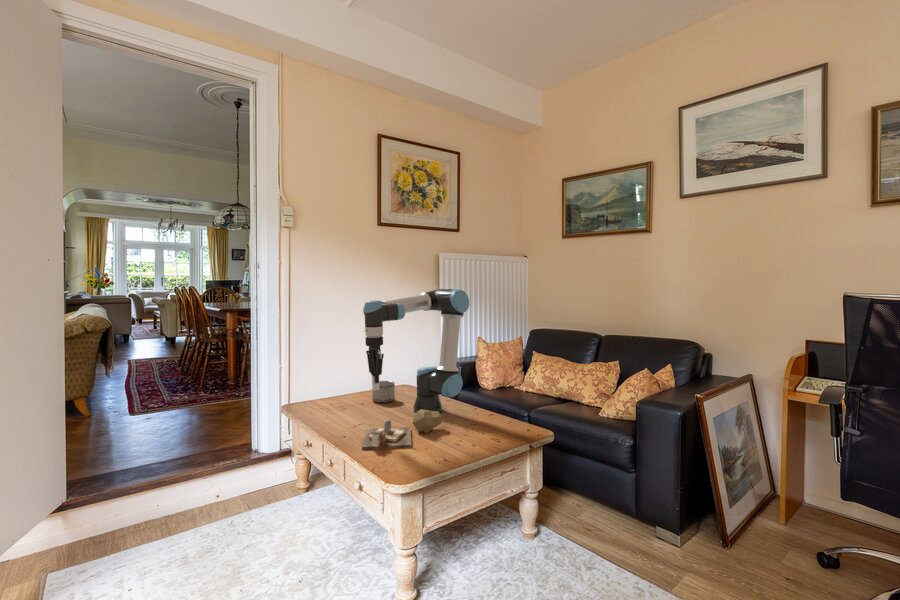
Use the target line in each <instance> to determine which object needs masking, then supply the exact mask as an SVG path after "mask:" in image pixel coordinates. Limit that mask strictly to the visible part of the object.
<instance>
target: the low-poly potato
mask: <svg viewBox="0 0 900 600" xmlns="http://www.w3.org/2000/svg"><path fill="white" fill-rule="evenodd" d="M442 423H443V415H442V414H441V412H440V413H439V411H428V410H423V409H421V410H419V411H417V413H414V415H413V418H412V425H413V426H414V428H415V429H416V430H417V431H418V432H421V433H426V434H428V432H430V431H431V430H433V429H435V428H436V427H438V426H439V425H441V424H442Z"/></svg>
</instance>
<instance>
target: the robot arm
mask: <svg viewBox="0 0 900 600" xmlns="http://www.w3.org/2000/svg"><path fill="white" fill-rule="evenodd" d="M469 307H470V298H469V295H468V294H467V292H466V291H464V290H462V289H459V288H439V289H435V290H430V291H426V292H421V293H420V294H419V295H414V296H408V297H402V298H396V299H391V300H384V301H382V300H366V301H365V302H364V306H363V308H362V312H363V315H364V327H365V328H364V333H365V335H364V336H365V339H364V340H365V346H367V347H368V350H366V351H365V354H366V356H367V364H368V371H369V373H370V374H371V387H372V390H373V391H376V390H379V381H380V376H381V375H382V374H383V373H382V372H383V364H384V363H383V361H384V356H385V355H384V353H382V350H381V346H383V345H384V337H383V335H384V326H383V324H384V322H391V321H398V320H399V321H401V320H403V319H404V318H405V316H406V314H407V313H413V312H417V311H423V312H424V311H425V312H427V311H439V312H440V315H441V317H443V319H442V331H441V332H442V333H441V343H440V344H441V345H440V354H439V355H440V356H439V365H438V366H427V367H420V368H418V369H417V371H416V376H415V377H416V398H415V401H414V405H413V412H414V414H416V413H417V411H419V410H421V409H423V410H428V411H439V413H440V414H441V413H442V411H443V405H442V404H443V403H442V402H441V398H440V396H443V397H448V398H453V397H456V396H457V395H459V393H460V392H461V391H462V389H463V385H464V384H463V383H464V382H463V378H462V376H461V375H460V369H459V368H458V367H457V362H458V350H459V341H460V340H459V339H460V338H459V337H460V326H461V319H462V318H463V317H464V315H465V313H466V312H468V310H469ZM372 390H371V391H372Z"/></svg>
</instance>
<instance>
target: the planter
mask: <svg viewBox="0 0 900 600" xmlns="http://www.w3.org/2000/svg"><path fill="white" fill-rule="evenodd" d="M395 386H396V385H395V381H392V380H379V390H376V391H373V390H371V391H372V392H371V393H372V395H371V396H372V399H371V400H372V401H373V402H376V403H379V402H382V403H381V404H384V403H383V402H386V403H390V402H393V401H395V398H396V396H395V394H396V392H395V391H396V390H395Z"/></svg>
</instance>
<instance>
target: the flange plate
mask: <svg viewBox="0 0 900 600" xmlns="http://www.w3.org/2000/svg"><path fill="white" fill-rule="evenodd" d="M378 428H379V429H378V430H377V431H375V432H373V433H372V434H371V435H370V436H369V439H372V446H374V447H378V446H379V445H380V444H381V434H384V427H378ZM393 428H394V427H391V434H392V435H386V441H391V442H396V441H397V440H398V439H399V438H400V437H401V436H402V435H403V434H405V433H406V430H403V429H393Z"/></svg>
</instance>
